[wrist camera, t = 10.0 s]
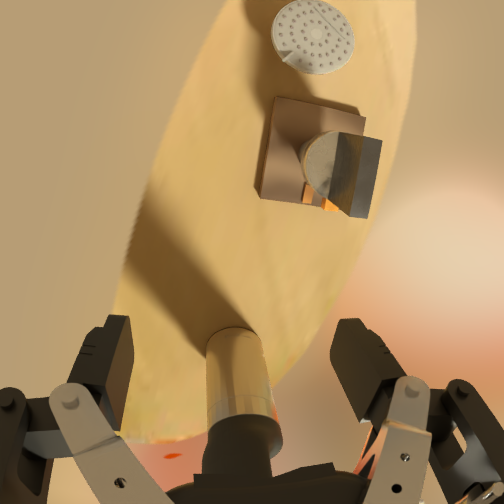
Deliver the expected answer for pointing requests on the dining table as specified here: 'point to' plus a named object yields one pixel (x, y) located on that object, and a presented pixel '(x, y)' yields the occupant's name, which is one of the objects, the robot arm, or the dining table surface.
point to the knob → (342, 170)
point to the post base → (298, 147)
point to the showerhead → (312, 37)
